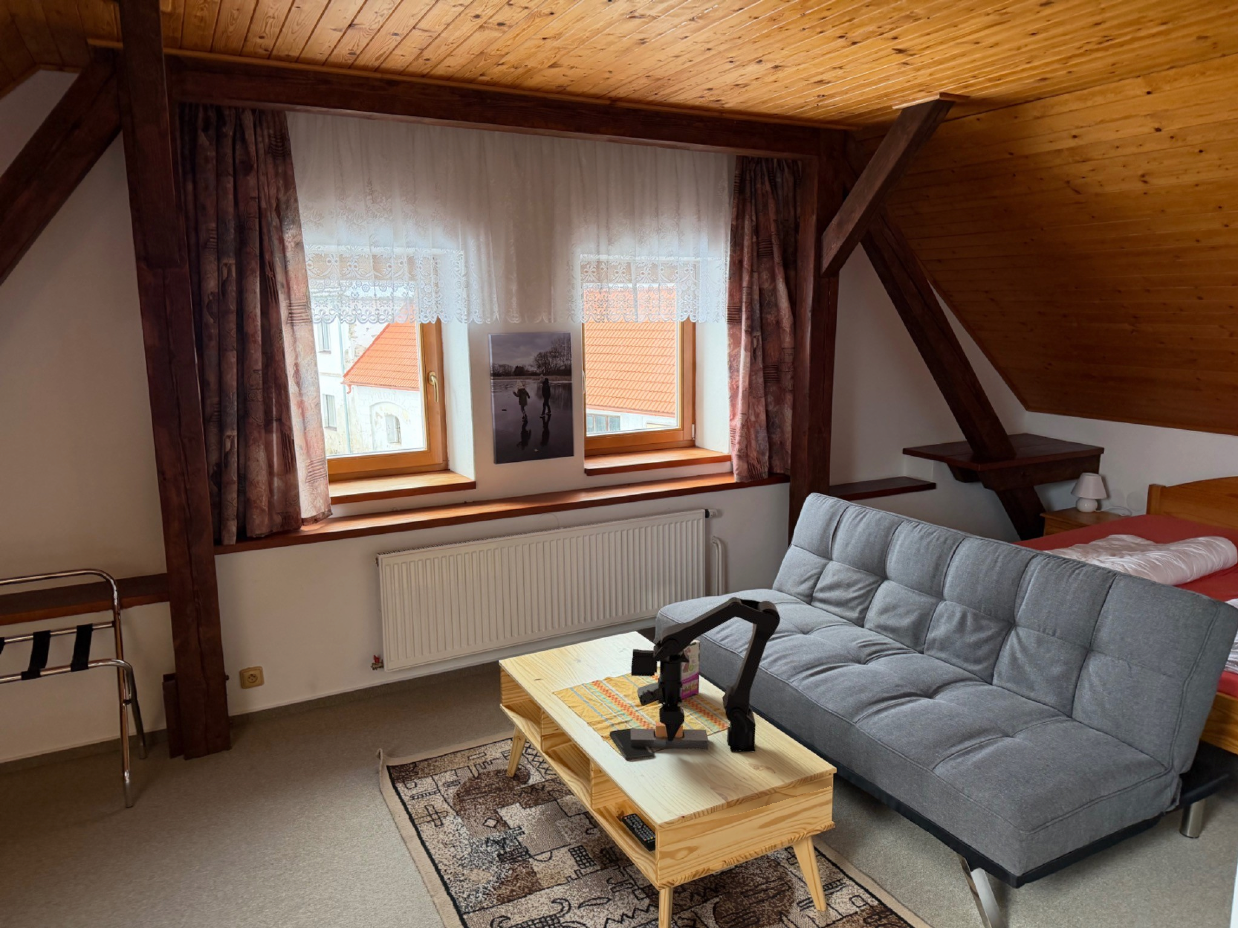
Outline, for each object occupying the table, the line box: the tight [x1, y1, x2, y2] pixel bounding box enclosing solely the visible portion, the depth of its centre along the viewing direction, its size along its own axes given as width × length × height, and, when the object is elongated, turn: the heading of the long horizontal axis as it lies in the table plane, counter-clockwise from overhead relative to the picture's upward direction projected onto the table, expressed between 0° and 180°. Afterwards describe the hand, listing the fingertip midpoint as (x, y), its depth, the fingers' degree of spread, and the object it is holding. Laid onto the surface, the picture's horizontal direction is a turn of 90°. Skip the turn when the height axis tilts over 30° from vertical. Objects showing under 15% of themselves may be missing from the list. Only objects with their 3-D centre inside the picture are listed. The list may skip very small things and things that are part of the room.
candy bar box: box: [681, 639, 701, 700], centre depth 262 cm, size 11×5×16 cm, turn 129°
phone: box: [609, 727, 655, 761], centre depth 233 cm, size 8×1×15 cm
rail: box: [630, 728, 709, 750], centre depth 234 cm, size 20×6×2 cm, turn 90°
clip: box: [654, 721, 684, 738], centre depth 234 cm, size 7×2×6 cm, turn 91°
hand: (669, 732), depth 234 cm, fingers open, 9 cm apart
